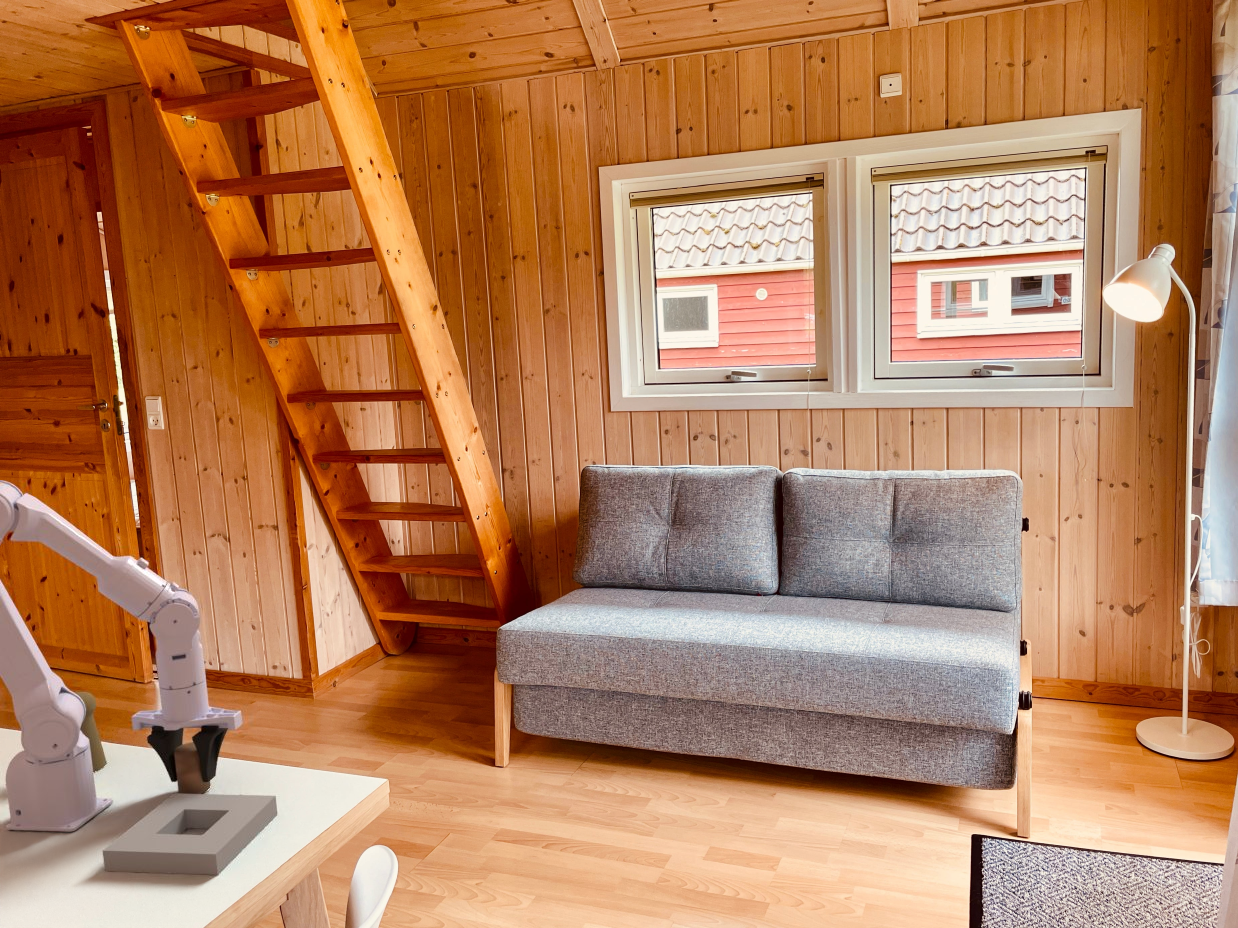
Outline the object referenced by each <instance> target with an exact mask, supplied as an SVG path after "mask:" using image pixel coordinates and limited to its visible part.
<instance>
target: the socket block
mask: <svg viewBox="0 0 1238 928" xmlns="http://www.w3.org/2000/svg"><path fill="white" fill-rule="evenodd" d="M277 815H278V806H277V797H276V795H259V794H258V795H257V794H218V793H217V794H214V793H213V794H212V793H211V794H210V793H208V794H207V793H204V794H179V793H172V794H171V795H170V796H169V797H167V798H166V799H165V800H163V801H162V802H161V803H160V804H159V805H157V806H156V807H155V808H154V809H152V810H151V811H150V812H148V813H147V814H146V815H145V816H143V818H141V819H140V820H139V821H137V822H136V823H135V824H134V825H132V826H131V827H130V828H129V829H128V830H126V831H125V832H124V833H123V834H121V835H120V836H119V837H117V838H116V839H115V840H114V841H112V842H111V843H110V844H109V845H107V847H105V848H104V849H102V857H103V859H102V860H103V865H104V871H105V872H125V873H132V872H133V873H150V874H151V873H153V874H154V873H155V874H156V873H157V874H158V873H159V874H184V875H186V874H187V875H188V874H189V875H206V876H207V875H210V876H213V875H215V876H219V875H220V873H221V872H222V871H224V869H226V867H227V866H228V865H229V864H230V863H232V861H233V860H234V859H236V857H237V856H239V855H240V853H241V852H242V851H243V850H244V849H245V848H246V847H247V846H248V845H249V844H250V843H251V842H252V841H253V840H254V839H255V838H256V837H257V836H258V835H259V834H260V833H261V832H262V831H263V830H264V829H265V828H266V827H267V826H268V824H270V823H271V822H272V820H273V819H275V818H276V817H277ZM186 829H202V830H203V829H207V830H206V831H205V832H204V833H203V834H183V832H184V831H185V830H186Z"/></svg>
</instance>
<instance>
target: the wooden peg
mask: <svg viewBox="0 0 1238 928" xmlns="http://www.w3.org/2000/svg"><path fill="white" fill-rule="evenodd" d="M174 757H175V765H176V774H177V781H176V782H177V790H178V791H177V792H178V794H202V793H204V792H206V791H207V790H208V789H209V788H210V786H211V787H212V785H211V780H210V781H209V782H203V779H202V775H201V767H200V760H199V756H198V752H197V749H196V747H195V744H194V742H193V741H191V742H187V743H184V744H183V743H182V745H181V746H178V747H177V748H176V749H175V750H174ZM210 789H211V788H210ZM207 792H208V791H207ZM207 792H206V793H207ZM204 794H205V793H204Z"/></svg>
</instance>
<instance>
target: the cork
mask: <svg viewBox="0 0 1238 928" xmlns="http://www.w3.org/2000/svg"><path fill="white" fill-rule="evenodd" d="M74 693H75V694H77V695H78V696H79V697H80V698H81V699H82V700H83V702H84V704H85V707H86V715H85V719H84V721H83V722H82V724H81V728H80V730H81V731H82V733H83V734H84V735H85V736H86V737H87V738H88V739H89V742H90V750H91V758H92V766H93V772H94V773H96V772H95V771H97V770H99V771H100V770H102V769H104V768H105V767H106V766H107V763H108V762H107V760H106V759H107V758H106V755H105V752H104V748H103V745H102V741H101V738H100V734H99V731H98V727H97V724H96V721H95V717H94V713H95V711H96V710H97V709H96V708H97V701H96V698H95V695H93V694H92V693H90V692H88V691H77V692H74ZM105 765H106V766H105ZM104 766H105V767H104ZM101 768H102V769H101ZM97 772H98V771H97Z"/></svg>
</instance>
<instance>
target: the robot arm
mask: <svg viewBox="0 0 1238 928" xmlns="http://www.w3.org/2000/svg"><path fill="white" fill-rule="evenodd" d="M9 532H13V533H12V536H11V538H10V541H12V542H38V543H41V544H43V545H44V546H46V547H48V548H50V549H51V550H52V551H54V552H56V553H57V554H58V555H61V556H62V557H64V558H65V559H67V560H69V562H72V564H75V565H76V566H78V567H80V568H81V569H83V570H84V571H85V572H87V573H89V574H91V575H92V576H94V577H95V578H96V580H97V581H96V583H97V590H98V592H99V593H100V594H101V595H103V596H105V597H106V598H107V599H109V600H111V601H112V602H114V604H117V605H118V606H120V607H121V608H122V609H123V610H125V611H127V612H128V613H129V614H131V615H132V616H134V617H135V618H137V619H138V620H140V621H145V622H148V623H149V630H150V632H151V633H152V635H153V637H155V643H156V651H155V662H156V669H157V678H158V679H157V680H158V687H159V695H160V696H159V697H160V705H161V708H160V709H152V710H140V711H138V712H136V713H135V714H133V715H132V716H131V722H132V723H131V725H132V730H133V731H141V730H143V729H151V731H150V734H149V735H147V737H146V742H147V744H148V745H150V747H151V748H152V749H153V750H154V752H156V754H157V755H158V757H159V759H160V760H161V761H162V764H163V765H164V768H165V769H166V773H167V774H168V778H169V779H170V782H171V783H176V782H177V774H176V765H175V757H174V750H175V749H176V748H177V747H178V746H181V745H183V742H184V741H183V740H184V738H183V737H184V729H200V731H199V730H198V732H197V733H195V734H194V735H193V736H192V737H191V740H192V741H191V742H194V744H195V747H196V749H197V752H198V756H199V760H200V767H201V775H202V779H203V782H209V781H210V782H211V780H213V778H215V777H216V775H217V767H218V760H219V756H220V752H221V748H222V745H223V741H224V739H225V737H226V733H227V732H228V731H236V730H237V729H238V728H239V727H240V726H242V725H243V718H242V711H241V710H231V709H226V708H219V707H214V706H210V704H209V696H208V695H209V693H208V687H207V686H208V685H207V678H206V677H207V675H206V666H205V658H204V657H205V656H204V650H203V649H204V648H203V644H202V643H201V639H202V637H201V632H200V630H199V628H200V625H201V617H200V614H199V613H200V611H199V604H198V602H197V600H196V599H195V598H194V596H193V595H192V594H191V593H190V592H189V590H187V589H184V588H180V587H179V586H180V585H179V584H177V582H175V581H172V582H171V583H170V582H168V581H167V580H166V579H164V578H162V577H161V576H160V575H158V573H155V572H154V571H153V570H151V569H150V568H149V563H150V562H149V561H148V560H146V559H144V558H143V557H139V558H138V560H137V559H136V558H135V557H133V556H131V555H123V556H114V555H112V554H111V553H110V552H108V550H106V549H104V547H102V546H100V545H99V544H98V543H97V542H95V541H94V540H93V539H91V538H90V537H89V536H87V535H86V534H84V533H83V532H82V531H81V530H80V529H78V528H77V527H76V526H74V525H73V524H72V523H71V522H69V521H68V520H67V519H65V518H64V517H62V515H60V514H59V513H57V511H55V510H53V509H52V508H51V507H49V506H48V505H47V504H45V503H44V502H42V501H41V500H39V499H38V498H37V497H35V496H33V495H31V494H29V493H28V492H25V493H24V494H23V492H22V491H21V490H20V488H19V487H17V486H16V485H15V484H13V483H11V482H9V481H6V480H0V545H1V544H2V542H3V539H4V537H5V536H6V535H7V534H8V533H9ZM0 678H1V679H2V682H3V683H4V685H5V687H6V688H7V690H8V692H9V694H10V695H11V698H12V699H11V700H12V705H13V711H14V715H15V718H16V720H17V723H18V724H19V726H20V731H21V735H20V743H21V746H22V749H23V750H21V751H19V752H18V753H17V754H15V756H13V757H12V758H11V760H10V762H9V763H8V765H7V769H6V771H5V772H6V773H5V786H6V788H5V789H6V793H7V794H6V795H7V801H8V810H9V817H10V823H9V824H7V825H6V830H8V831H11V830H13V831H38V832H39V831H40V832H42V831H43V832H74V831H76V830H78V829H79V828H80V827H82V826H83V825H85V823H87V822H88V821H90V820H91V819H93V818H94V817H95V816H96V815H98V814H99V813H101V812H102V811H103V810H105V809H106V808H108V806H110V805H111V804H113V802H114V799H113V798H109V797H108V798H104V797H97V791H96V782H95V775H94V773H93V766H92V758H91V750H90V742H89V739H88V738H87V737H86V736H85V735H84V734H83V733H82V731H81V730H80V728H81V724H82V722H83V721H84V719H85V715H86V707H85V704H84V702H83V700H82V699H81V698H80V697H79V696H78V695H77V694H75V693H76V692H73V691H72V690H71V689H69V688H68V687H67V686H66V685H65V683H64V681H63V679H62V678H61V677H60V676H58V674H56V673H55V672H54V671H52V669H51V667H50V666H49V664H48V663H47V660H46V658H45V657H44V655H43V653H42V652H41V649H40V648H39V646H38V645H37V642H36V641H35V639H34V638H33V635H32V634H31V632H30V630H29V629H28V626H27V625H26V623H25V621H24V620H23V617H22V616H21V614H20V612H19V610H18V608H17V607H16V605H15V603H14V602H13V599H12V598H11V596H10V594H9V592H8V591H7V589H6V587H5V585H4V584H3V582H2V580H1V579H0Z"/></svg>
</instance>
